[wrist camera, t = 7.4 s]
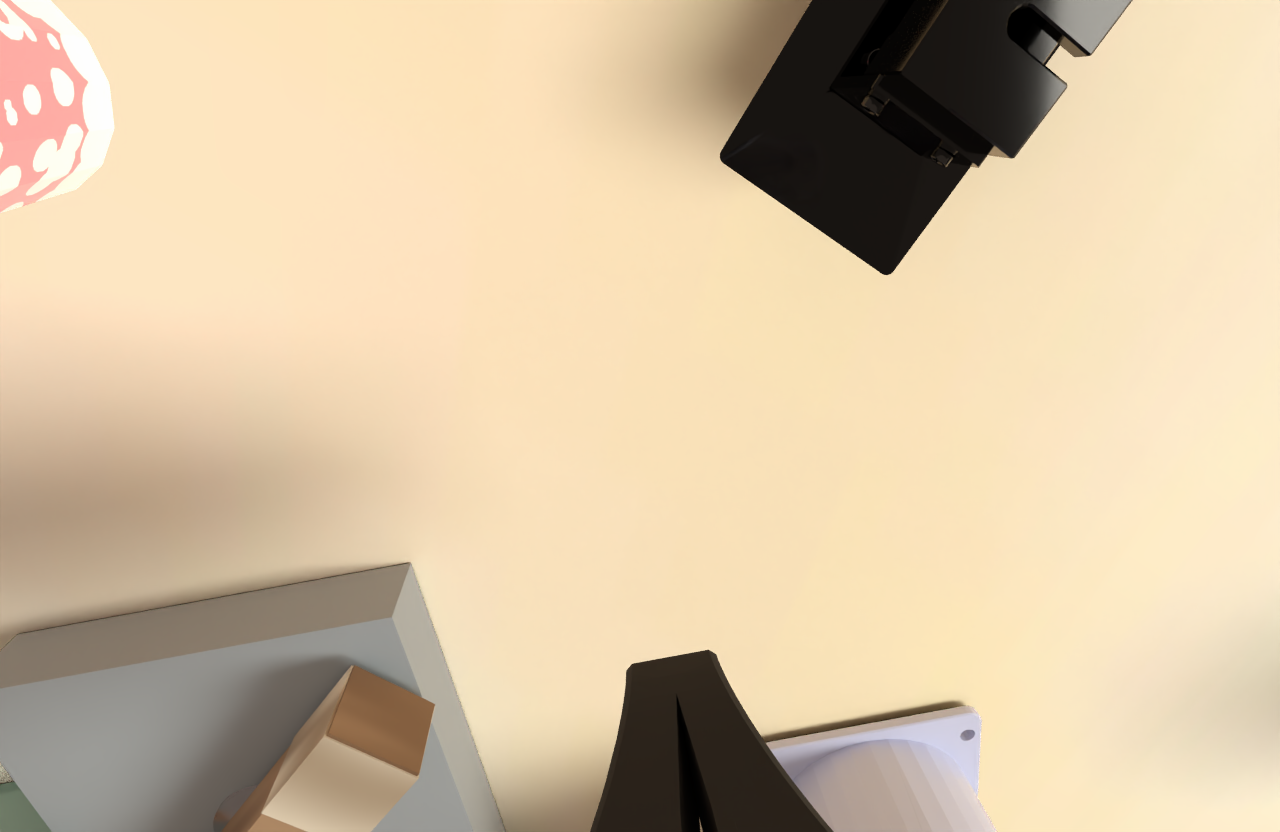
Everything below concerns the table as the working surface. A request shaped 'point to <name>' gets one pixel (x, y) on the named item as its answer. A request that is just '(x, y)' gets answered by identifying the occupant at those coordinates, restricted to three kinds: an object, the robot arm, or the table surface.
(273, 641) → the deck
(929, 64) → the black blocky device
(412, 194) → the table surface
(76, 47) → the beverage cup
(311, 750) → the lever
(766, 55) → the table surface
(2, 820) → the teal dish
